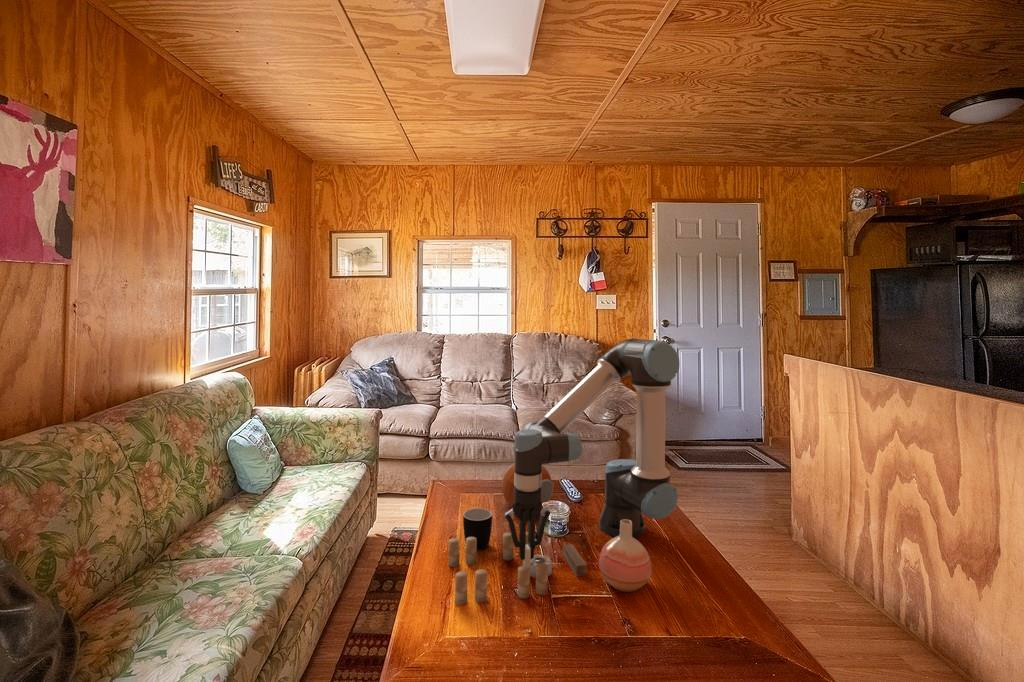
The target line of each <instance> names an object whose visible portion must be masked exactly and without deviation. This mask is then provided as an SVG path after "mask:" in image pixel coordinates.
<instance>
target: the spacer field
mask: <svg viewBox="0 0 1024 682" xmlns="http://www.w3.org/2000/svg"><path fill="white" fill-rule="evenodd" d="M526 544H528V545H529V543H528V531H526ZM476 547H477V539H476V538H475V537H468V538H466V542H465V564H466V565H468V566H475V565H476V564H477V551H476ZM502 559H503V560H504V561H511V560H513V559H514V543H513V540H512V536H511V532H504V533H503V534H502ZM459 565H460V539H459V538H455V537H453V538H450V539H448V566H449V567H451V568H457V567H458V566H459ZM474 574H475V575H474V578H475V579H474V580H475V581H474V595H475V596H474V601H475V602H476V603H479V604H483V603H485V602H487V600H488V571H487V570H486V569H477V570H476V571H475V573H474ZM454 576H455V578H454V580H455V585H454V587H455V588H454V589H455V590H454V592H455V593H454V594H455V596H454V597H455V600H454V602H455V605H457V606H465V605H466V604H468V573H467V572H466V571H458V572H456V573H455V574H454ZM548 577H549V576H548V565H547V564H545V563H538V564H537V565H536V578H535V593H536V595H539V596H546V595H547V594H548V579H549V578H548ZM530 578H531V577H530V568H529V567H527V566H523V565H520V566H518V567H517V597H518V598H520V599H522V600H525V599H528V598H529V597H530V580H531V579H530Z"/></svg>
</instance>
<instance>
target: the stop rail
mask: <svg viewBox="0 0 1024 682" xmlns="http://www.w3.org/2000/svg"><path fill="white" fill-rule="evenodd" d="M561 554H562V555H561V556H563V557H564V560H565V561H566V562H567V565H568V566H569V568H570V569H571V571H572V572H573V574H574V575H575V577H585V576H587V575H588V574H587V573H588V569H587V568H588V565H587V563H586V561H585V560H584V558H582V555H580V553H579V551H578V550H577V549H576V548H575V546H574V545H573V544H572V543H571V544H570V543H568V544H562V553H561Z"/></svg>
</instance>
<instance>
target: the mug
mask: <svg viewBox="0 0 1024 682" xmlns="http://www.w3.org/2000/svg"><path fill="white" fill-rule="evenodd" d="M462 518H463V520H462V523H463V524H462V525H463V533H464V541H465V543H466V538H468V537H475V538H476V539H477V547H476V552H477V551H483V550H485V549H486V548H488V546H489V544H490V539H491V535H492V528H493V527H492V525H493V512H492V511H490V509H486V508H482V507H481V508H480V507H474V508H470V509H468V510H466V511H464V512H463V515H462Z"/></svg>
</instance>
